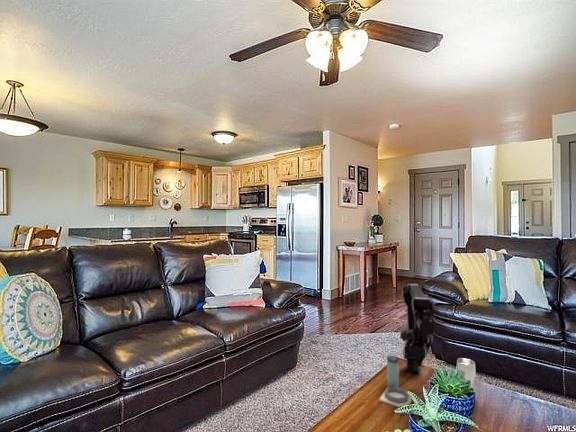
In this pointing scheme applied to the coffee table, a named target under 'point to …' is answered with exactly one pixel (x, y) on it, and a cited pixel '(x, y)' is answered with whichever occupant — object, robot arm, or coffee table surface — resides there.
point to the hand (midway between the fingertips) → (421, 362)
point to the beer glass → (467, 369)
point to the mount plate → (395, 397)
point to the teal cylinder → (392, 371)
